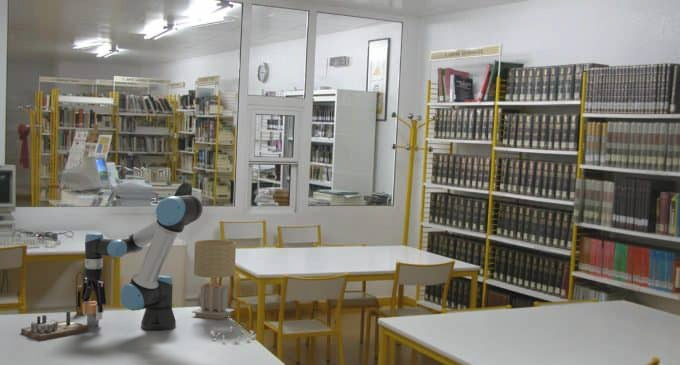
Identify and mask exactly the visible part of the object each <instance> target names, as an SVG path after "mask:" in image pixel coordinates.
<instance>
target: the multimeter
mask: <svg viewBox="0 0 680 365" xmlns="http://www.w3.org/2000/svg"><path fill="white" fill-rule="evenodd" d="M80 273H81V275H82V276H84V274H85V269H84V270H83V272H82V271H80V272H78V273H77V275H76V279H75V300H76V301H75V305H76V306H75V308H76V315H77V316H80V317H81V316H83V317H84V313H83V312H82V303H84V301H83V299H81V293H82V286H83V278H82V281H81V282H82V283H81V285H77V284H78V275H79V274H80ZM89 301H91V299H90V300H89Z"/></svg>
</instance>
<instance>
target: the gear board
mask: <svg viewBox="0 0 680 365" xmlns="http://www.w3.org/2000/svg"><path fill="white" fill-rule="evenodd" d="M41 316H42V317H41ZM41 316H40V315H37V317H36V318H37V319H36V321H32V322H31V323H30V326H27V327H22V328H21V330H20V334H23V335H25V336H28V337H31V338H33V339H36V340H38V341H46V340H51V339H54V338H56V339H57V338H59V337H66V336H70V335H76V334H77V335H78V334H82V333H86V332H87V333H88V332H90V331H89V329H90V328H89V327H90V326H87V325H84V324H82V323H79V322H76V321H72V320H71V311H70V310H67V311H66V318H65V319H66V320H63V321H62V320H61V321H57V320H55V319H50V320H49V319H47V315H46V314H44V315H41ZM41 318H42V320H41Z"/></svg>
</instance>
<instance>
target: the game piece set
mask: <svg viewBox="0 0 680 365" xmlns="http://www.w3.org/2000/svg"><path fill="white" fill-rule="evenodd" d="M232 332H233V326H231V325H230V327H229V333H232ZM209 333H210V334H211V337H212V339H211V341H213V342H215V341H217V337H218V336H219V335H221V334H222V331H219V332H218V333H217V334H215V333H216V332H215V330H210V331H209ZM249 333H250V334H249V337H250V338H249V337H247V338H246V343H251V339H253V340H255V338H257V335H258V334H257V333H254V330H249ZM241 334H246V333H245V330H244V329H242V331H241ZM225 337H226V336H225V335H224V334H223V335H222V340H221V341H220V342H221V343H220V344H226V342H227V341H226V340H225ZM240 338H241V337H240V336H238V337H237V338H236V339H234V338H233V342H232V343H234V344H239V342H240V341H241V340H240Z"/></svg>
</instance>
